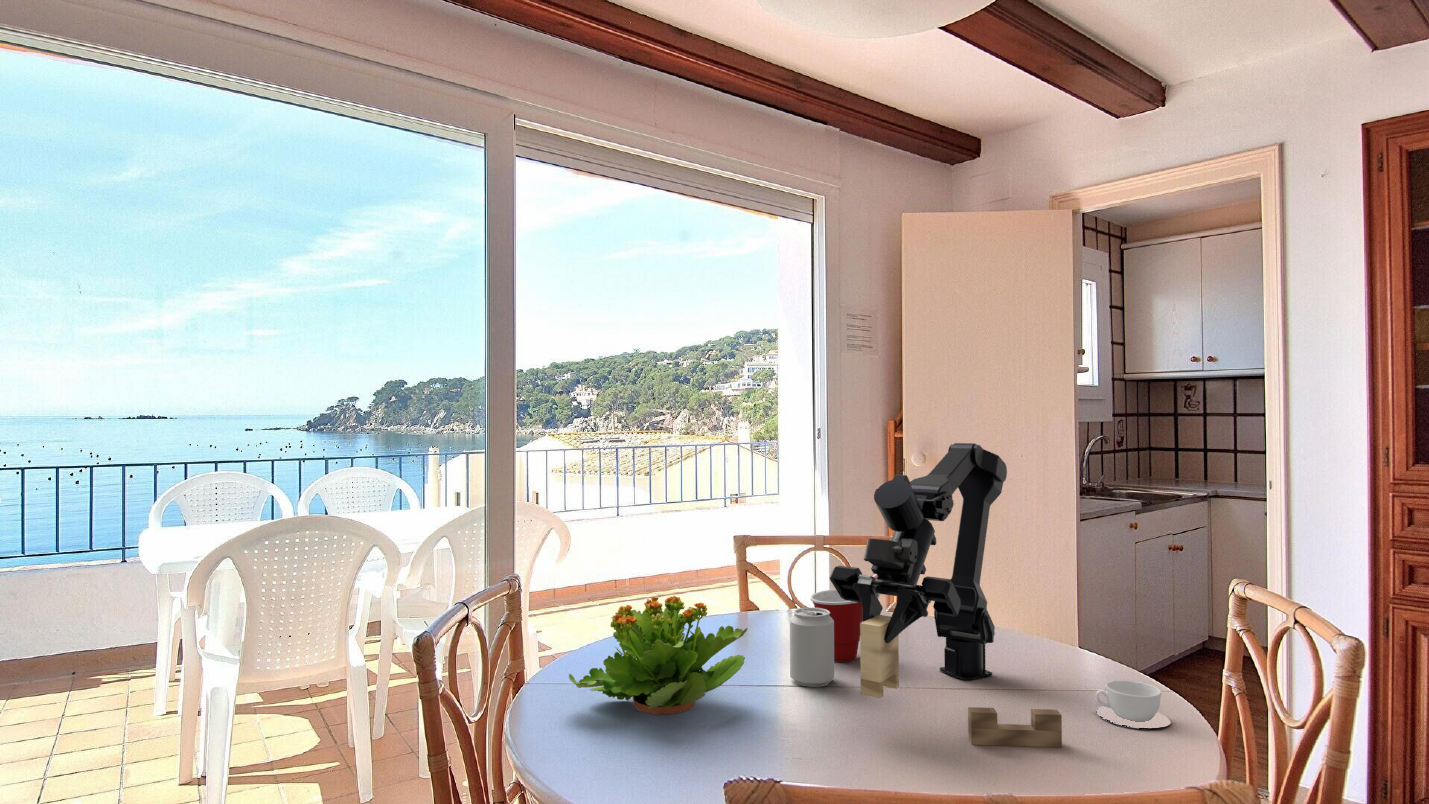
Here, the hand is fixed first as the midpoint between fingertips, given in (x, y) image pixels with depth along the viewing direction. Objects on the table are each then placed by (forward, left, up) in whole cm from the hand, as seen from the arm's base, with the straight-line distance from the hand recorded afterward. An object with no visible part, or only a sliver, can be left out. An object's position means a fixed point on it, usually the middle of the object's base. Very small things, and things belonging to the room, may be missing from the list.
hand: (875, 639), depth 117 cm
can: (-5, -24, -14) cm, 28 cm away
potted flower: (+21, -25, -14) cm, 35 cm away
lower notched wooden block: (-15, +11, -13) cm, 23 cm away
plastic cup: (-17, -33, -14) cm, 39 cm away
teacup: (-38, +12, -14) cm, 42 cm away
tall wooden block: (-1, -1, -8) cm, 8 cm away
